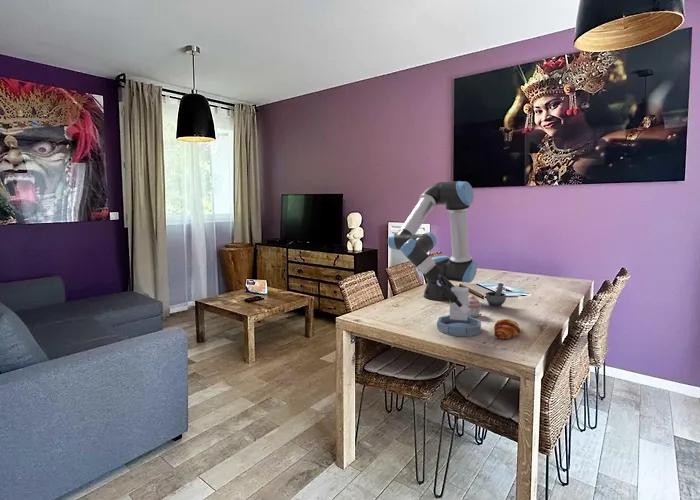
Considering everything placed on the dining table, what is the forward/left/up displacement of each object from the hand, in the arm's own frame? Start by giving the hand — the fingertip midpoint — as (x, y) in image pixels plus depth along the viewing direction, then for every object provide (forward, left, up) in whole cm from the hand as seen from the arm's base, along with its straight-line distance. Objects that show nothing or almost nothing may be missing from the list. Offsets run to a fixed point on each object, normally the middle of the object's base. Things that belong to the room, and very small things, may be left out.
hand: (467, 309), depth 168 cm
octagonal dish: (0, -3, -9) cm, 10 cm away
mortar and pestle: (-41, +12, -10) cm, 44 cm away
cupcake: (-22, +1, -10) cm, 24 cm away
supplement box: (0, -4, -4) cm, 6 cm away
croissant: (-1, +16, -10) cm, 19 cm away
